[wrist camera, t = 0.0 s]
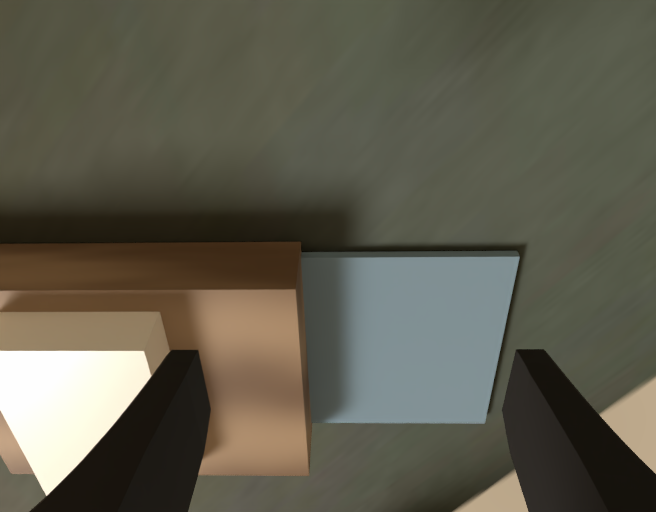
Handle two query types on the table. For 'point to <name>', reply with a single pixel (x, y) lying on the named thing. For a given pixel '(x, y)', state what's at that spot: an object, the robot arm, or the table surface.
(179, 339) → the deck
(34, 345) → the cream rectangular block
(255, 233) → the table surface
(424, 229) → the table surface
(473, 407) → the mat
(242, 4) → the table surface
